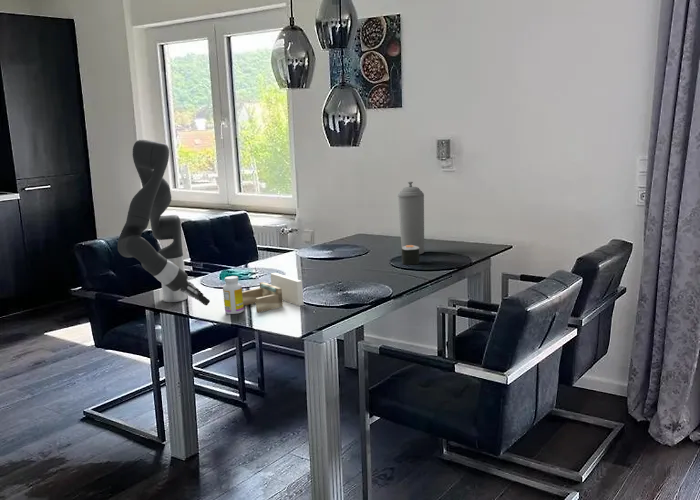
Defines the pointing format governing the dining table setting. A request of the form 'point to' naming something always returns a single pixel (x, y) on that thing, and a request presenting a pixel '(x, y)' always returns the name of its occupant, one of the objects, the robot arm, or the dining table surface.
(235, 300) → the supplement bottle
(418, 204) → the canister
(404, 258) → the sushi
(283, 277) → the backstop board
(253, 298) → the cradle
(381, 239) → the dining table surface
